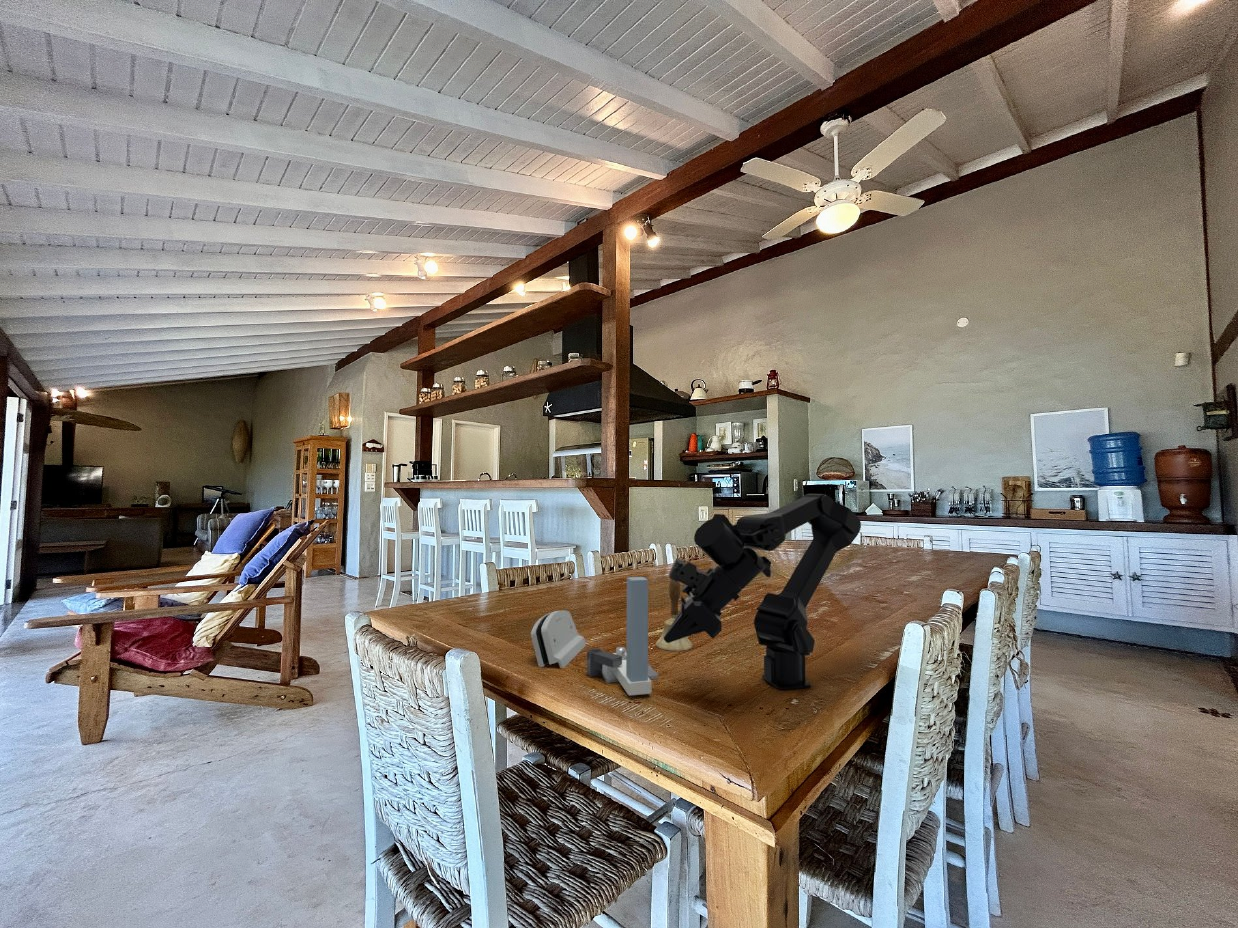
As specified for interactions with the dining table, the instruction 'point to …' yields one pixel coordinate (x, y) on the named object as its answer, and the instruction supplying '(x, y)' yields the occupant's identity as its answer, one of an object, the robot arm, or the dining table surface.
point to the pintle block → (609, 664)
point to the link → (636, 640)
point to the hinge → (556, 639)
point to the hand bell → (680, 643)
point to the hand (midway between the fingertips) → (665, 640)
